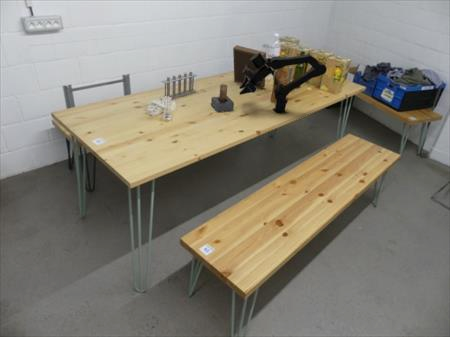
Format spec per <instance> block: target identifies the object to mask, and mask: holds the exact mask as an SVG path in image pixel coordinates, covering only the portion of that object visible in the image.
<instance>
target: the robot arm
mask: <svg viewBox="0 0 450 337" xmlns="http://www.w3.org/2000/svg"><path fill="white" fill-rule="evenodd" d="M250 61H251V62H252V63H253V65H254V66H255V67H256V68H260V69H259V70H258V71H257V70H255V71H252V70H251V69H249V68H248V67H245V69H244V70H243V74H244V75H246V76H245V81H244V82H243V83H242V84H241V85H240V86H239V89H240V90H241V91H239V93H238V94H239V96H241V95H244V94H249V93H255V92H256V91H257V88H256V86H257V84H258V83H259V82H260V81H263V79H264V78H265V79H266V77H268V76H269V75H272V77H273V76H274V72H275V70H277V69H280V68H283V67H285V66H289V65H290V66H297V65H302V64H309V66H311V67H310V68H309V69H308V70H307V71H306V72H304V73H303V74H301V75H300V76H298V77H296V78H294V79H293V80H292V81H290V83H288V84H287V85H283V84H280V85H279V86H278V87H276V89H275V90H274V96H275V99H276V103H274V104H275V106H274V108H272V111H274V112H275V113H276V114H285V113H288V111H286V107H287V103H288V102H289V101H288V99H287V98H286V96H287V97H288V95H289V94H290V93H291V92H292V91H294V90H295V89H297V88H298V87H301V85H303V84H305V83H306V82H308V81H309V80H312V79H314V78H318V77H320V76H323V75H325V74H326V73H327V71H328V70H327V66H326V65H325V63H324V62H323V61H321V60H320V61H319V60H318V59H317V58H315V57H314V56H313V55H312V54H310V53H308V54H307V53H306V54H304V55H296V56H290V57H278V56H272V57H270V58H267V57H266V58H264V57H263V56H262V54H261V53H260V52H259V53H258V54H256V55H254V56H253V57H252V58H251V59H250ZM263 65H264V66H263ZM262 66H263V67H262Z"/></svg>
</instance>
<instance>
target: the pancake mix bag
mask: <svg viewBox="0 0 450 337" xmlns="http://www.w3.org/2000/svg"><path fill="white" fill-rule="evenodd" d="M277 57H291V54H290V53H289V52H287V53H284V54H281V55H278V56H277ZM290 67H291V65H289V66H285V67H283V68H280V69H277V70H275V72H274V76H272V78H273V86H272V91H271V97H270V103H274V104H276V99H275V96H274V90H275V89H276V87H278V86H279V85H280V84H283V85H287V84H288V81H289V73H290ZM287 97H288V95H287V96H286V98H287Z"/></svg>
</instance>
